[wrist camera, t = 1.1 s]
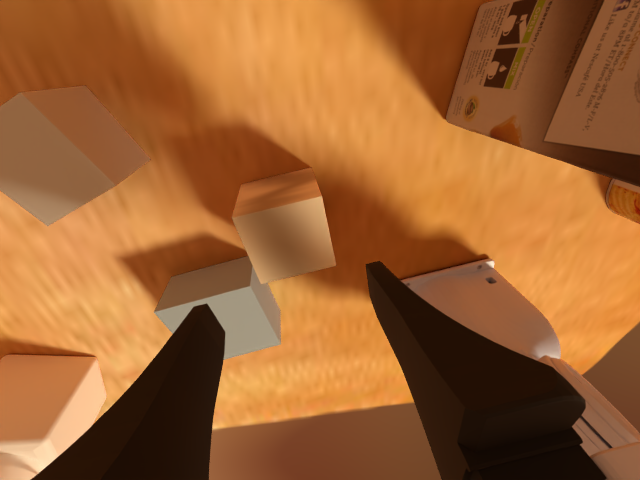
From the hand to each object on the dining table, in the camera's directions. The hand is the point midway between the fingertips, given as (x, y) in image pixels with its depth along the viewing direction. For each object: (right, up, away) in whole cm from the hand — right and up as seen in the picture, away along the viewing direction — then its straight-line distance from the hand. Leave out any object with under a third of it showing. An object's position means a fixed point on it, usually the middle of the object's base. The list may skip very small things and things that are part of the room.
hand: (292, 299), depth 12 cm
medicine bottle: (-24, -11, +14) cm, 30 cm away
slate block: (-7, -2, +12) cm, 14 cm away
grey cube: (-12, +8, +4) cm, 15 cm away
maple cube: (-1, +5, +8) cm, 10 cm away
